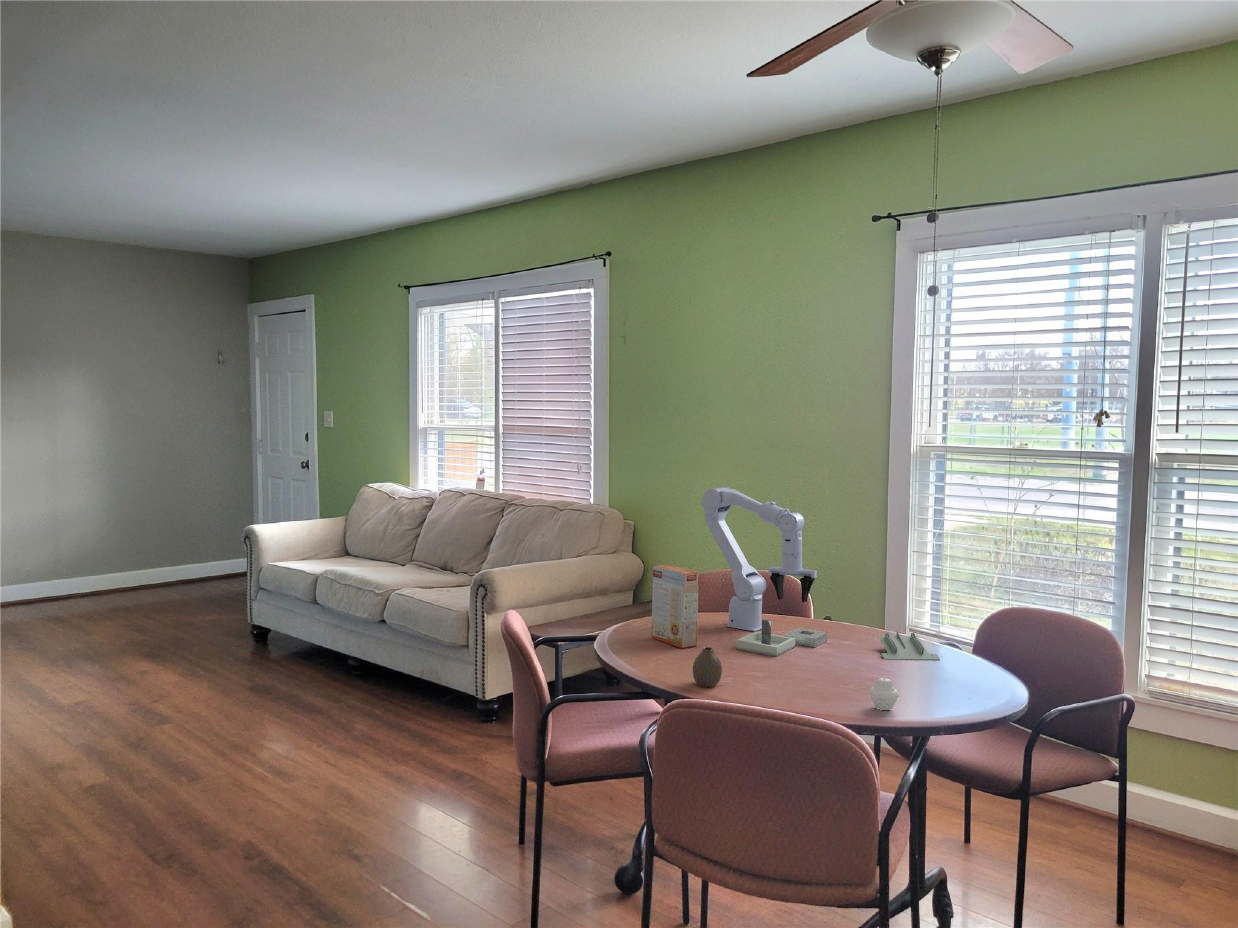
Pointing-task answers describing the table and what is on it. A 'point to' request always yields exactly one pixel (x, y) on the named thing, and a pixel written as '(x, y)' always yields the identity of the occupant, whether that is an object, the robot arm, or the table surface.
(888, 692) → the white rounded piece
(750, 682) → the table surface
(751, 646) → the tray
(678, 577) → the cracker box
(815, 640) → the block
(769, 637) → the pin
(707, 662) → the vase
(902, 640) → the metal bracket
